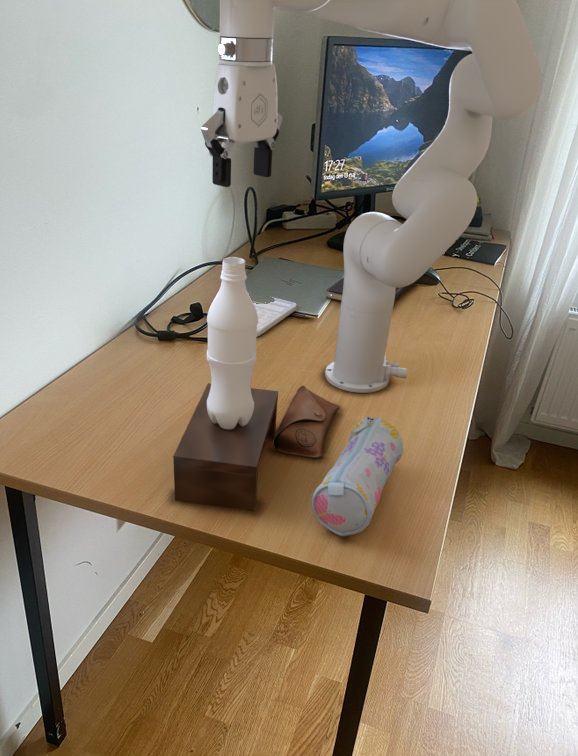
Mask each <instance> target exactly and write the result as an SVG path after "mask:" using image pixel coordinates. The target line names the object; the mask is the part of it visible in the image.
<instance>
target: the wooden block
mask: <svg viewBox="0 0 578 756" xmlns="http://www.w3.org/2000/svg"><path fill="white" fill-rule="evenodd" d="M210 388H211V382H208V383H207V384H206V386H205V388H204V391H203V392H202V395H201V396H200V399H199V401H198V403H197V405H196V408H195V409H194V410H193V414H192V415H191V417H190V419H189V422H188V424H187V426H186V428H185V431H184V432H183V435H182V437H181V439H180V441H179V443H178V445H177V447H176V450H175V451H174V452H173V453H174V454H173V455H172V459H173V460H172V461H173V486H174V501H180V502H186V503H194V504H201V505H208V506H215V507H221V508H222V507H223V508H229V509H237V510H244V511H250V512H255V510H256V507H257V501H258V499H257V498H258V480H259V467H260V463H261V460H262V457H263V453H264V450H265V447H266V442H267V439H268V437H271V438H275V435H276V432H277V431H276V430H277V418H278V417H277V416H278V415H277V414H278V403H279V402H278V401H279V391H278V390H271V389H262V388H254V387H253V388H252V387H251V395H252V398H253V401H254V410H253V414H252V417H251V419H250V420H249V422H248V423H247V424H246V425H245V426H240V425H239V423H238V422H237V424H236V426H235V427H234V429H230V430H229V429H223V428H221V427H220V425H219V424H218V423H216V424H214V423H213V422H212V421H211V419H210V417H209V415H208V411H207V398H208V396H209V393H210Z"/></svg>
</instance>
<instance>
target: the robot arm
mask: <svg viewBox="0 0 578 756" xmlns="http://www.w3.org/2000/svg"><path fill="white" fill-rule="evenodd" d="M275 9H277V10H281V11H283V12H284V11H285V12H290V13H294V14H299V15H301V16H303V15H304V16H308V17H311V18H316V19H321V20H325V21H331V22H336V23H339V24H344V25H347V26H349V27H350V26H351V27H353V28H355V29H359V30H361V31H366V32H371V33H376V34H381V35H383V36H384V35H385V36H389V37H395V38H398V39H403V40H409V41H414V42H418V43H422V44H425V45H431V46H435V47H439V48H445V49H450V50H451V49H452V50H459V51H467V52H472V53H470V54H467V55H466V56H464V57H463V58H461V60H459V61H458V62H457V65H455V67H454V69H453V71H452V73H451V76H450V79H449V85H448V86H449V87H448V100H449V101H448V104H449V105H448V112H447V118H446V119H445V124H444V125H443V127H442V129H441V131H440V132H439V134H438V135H437V137H435V139H434V140H433V141H432V142H431V144H430V145H429V146H428V147H427V148H426V149H425V151H424V152H423V153H421V155H420V156H419V157H418V158H417V159H416V160H415V162H414V163H412V165H411V166H410V167H409V168H408V169H407V171H406V172H405V173H403V175H402V176H401V177H400V178H399V180H398V181H397V182H396V184H395V186H394V188H393V191H392V195H391V201H392V205H393V208H394V209H395V211H396V212H397V213H398V214H399V215H400V216H401V217H403V218H405V219H406V220H405V221H404V222H403V223H402V221H401V222H400V221H398V220H397V219H395V218H393V217H391V216H390V215H387V214H386V213H382V212H377V211H369V212H365V213H361V214H360V215H358V216H357V217H355V218H354V220H353V221H352V222H350V224H349V226H348V227H347V229H346V232H345V235H344V239H343V277H344V285H343V294H342V301H341V302H340V309H339V319H338V327H337V336H336V345H335V353H334V361H332V362H331V363H329V364H328V365H327V366H326V368H325V371H324V377H325V379H326V381H327V382H328V383H329V384H330V385H332V386H333V387H335V388H337V389H340V390H342V391H346V392H351V393H357V394H368V393H374V392H378V391H382V390H383V389H384V388H386V387H387V386H388V384H389V381H390V377H395V378H399V379H407V375H408V368H407V367H401V363H400V362H390V361H389V360H387V354H386V353H387V352H386V351H387V345H388V341H389V340H388V339H389V334H390V327H391V321H392V316H393V310H394V304H395V303H394V299H395V288H400V287H405V286H408V285H410V284H412V283H413V282H415V281H416V282H417V281H418V280H419V279H420V278H421V277H422V276H423V275H424V274H426V272H428V270H430V268H431V267H432V266H433V265H434V264H435V263H437V261H438V260H439V259H440V258H441V257H442V256H443V255H444V254H445V253H446V252H447V251H448V250H449V249H450V247H452V246H453V244H454V243H455V242H456V241H457V240H458V239H459V238H460V237H461V236H462V234H463V233H464V232H465V231H466V230H467V229H468V227H469V226H470V224H471V222H472V220H473V218H474V216H475V214H476V211H477V207H478V194H477V190H476V188H475V186H474V184H473V183H472V182H471V181H470V180H469V178H470V177H471V175H472V174H473V173H474V172H475V171H476V169H477V168H478V167H479V166H480V164H481V163H482V162H483V160H484V158H485V156H486V155H487V152H488V150H489V147H490V143H491V137H492V129H493V119H494V118H495V119H498V120H507V121H509V120H514V119H517V118H521V117H522V116H524V115H525V114H527V113H528V112H529V111H530V110H531V109H533V107H534V105H535V104H536V102H537V101H538V98H539V97H540V95H541V90H542V83H543V74H542V68H541V65H540V61H539V57H538V55H537V52H536V50H535V49H536V48H535V47H534V44H533V41H532V37H531V36H530V32H529V29H528V26H527V24H526V21H525V18H524V15H523V14H522V10H521V9H520V6H519V4H518V2H517V0H219V37H218V38H219V40H218V41H219V43H218V44H219V45H218V46H217V52H218V55H219V56H218V58H219V60H218V63H217V68H216V69H217V70H216V74H215V80H214V88H213V89H214V90H213V91H214V92H213V103H212V116H211V117H210V118H208V119H207V120H206V121H205V123H203V124H202V125H201V127H200V131H201V134H202V137H203V139H204V147H206V149H207V150H208V153H209V154H208V155H209V156H210V157H212V172H211V173H212V177H211V178H212V184H213V185H214V186H218V187H219V186H220V187H223V188H229V187H231V185H232V182H231V181H232V157H231V158H230V157H229V155H230V154H231V152H232V149H233V147H234V145H235V144H240V145H244V144H251V143H255V144H256V147H255V146H254V149H253V171H252V172H253V174H254V176H258V177H259V176H260V177H262V178H263V177H264V178H271V176H272V166H273V150H274V149H275V148H276V141H277V139H278V137H279V135H280V128H281V125H282V123H283V120H284V119H283V116H282V114H281V113H279V112H278V83H277V82H278V81H277V72H276V65H275V63H273V54H274V53H273V51H274V31H275V29H274V28H275ZM223 143H224V144H223ZM222 144H223V146H222ZM416 282H415V283H416Z"/></svg>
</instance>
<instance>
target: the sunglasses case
mask: <svg viewBox="0 0 578 756" xmlns="http://www.w3.org/2000/svg"><path fill="white" fill-rule="evenodd" d="M339 409H340V405H337V404H334V403H332V402H331V401H329V400H327V399H326V398H324V397H321V396H320V395H318V394H317V393H315V392H313V391H311V390H310V389H308V388H307V387H306V386H305V385H300V386H299V387H298V389H297V390H296V393H295V394H294V395H293V397H292V399H291V401H290V403H289V405H288V407H287V409H286V412H285V413H284V415H283V417H282V419H281V421H280V423H279V426H278V428H277V429H276V430H277V431H276V432H275V435H274V437H273V440H272V441H273V442H272V444H273V447H274V449H275V450H276V451H277V452H278V453H282V454H286V455H290V456H295V457H303V458H310V459H311V458H312V459H319V458H321V457H322V454H323V449H324V444H325V440H326V437H327V434H328V431H329V429H330V426H331V425H332V421H333V419H334V417H335V416H336V414H337V412H338V410H339Z"/></svg>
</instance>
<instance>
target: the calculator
mask: <svg viewBox="0 0 578 756" xmlns="http://www.w3.org/2000/svg"><path fill="white" fill-rule="evenodd" d="M271 297H272V298H274V300H275V301H274V302H270V303H268V304H256V303H253V304H254V306H255V308H256V311H257V316H258V324H257V336H256V338H258V337H260V336H262V335H263V334H264V333H266V332H267V331H268V330H270V329H271V328H273V327H275V325H277V324H279V323H280V322H281V321H282V320H283V321H284V319H286V318H287V317H288V316H290V315H291V314H293V313H294V312H295V311H296V310H297V307H296V306H297V303H296V302H294V301H290V300H286V299H282V298H278V297H274V296H271ZM265 303H266V302H265ZM295 307H296V308H295ZM294 308H295V309H294Z"/></svg>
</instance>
